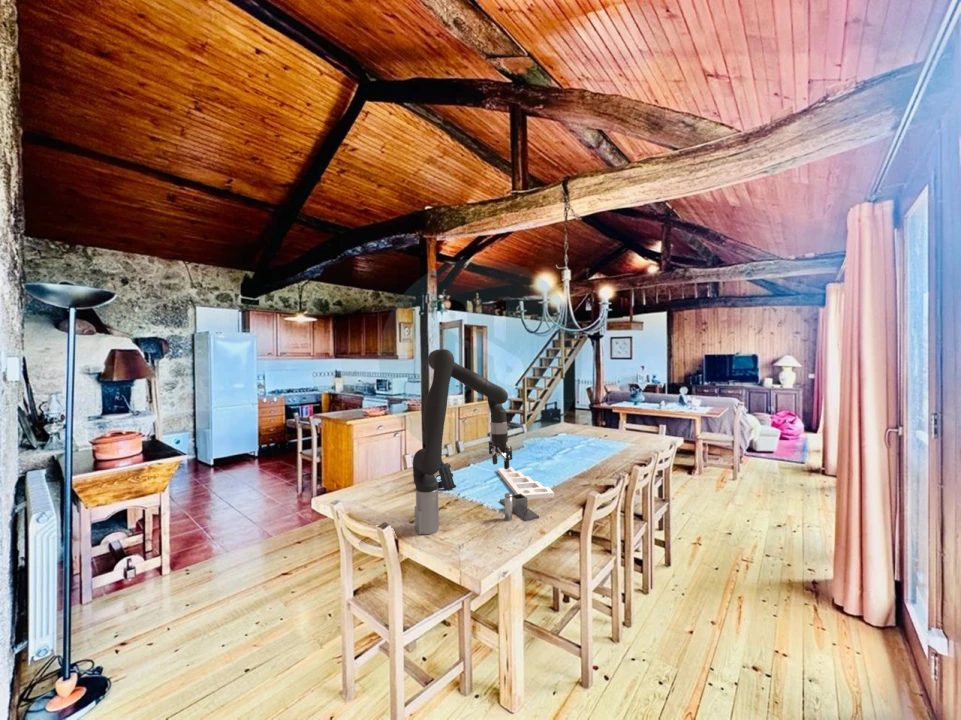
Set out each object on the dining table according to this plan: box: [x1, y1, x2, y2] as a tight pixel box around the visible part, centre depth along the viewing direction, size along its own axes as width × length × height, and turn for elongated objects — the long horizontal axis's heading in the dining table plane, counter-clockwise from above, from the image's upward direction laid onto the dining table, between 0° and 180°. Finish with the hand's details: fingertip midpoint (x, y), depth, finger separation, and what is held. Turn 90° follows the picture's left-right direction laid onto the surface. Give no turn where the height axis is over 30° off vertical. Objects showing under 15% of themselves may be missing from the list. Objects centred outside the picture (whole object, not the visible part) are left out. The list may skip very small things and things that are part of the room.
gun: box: [435, 459, 457, 492], centre depth 213 cm, size 3×17×15 cm
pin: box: [504, 492, 513, 522], centre depth 178 cm, size 3×3×11 cm
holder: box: [497, 466, 555, 501], centre depth 223 cm, size 45×18×3 cm, turn 12°
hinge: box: [499, 494, 540, 522], centre depth 188 cm, size 7×24×6 cm, turn 25°
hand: (500, 466), depth 185 cm, fingers open, 8 cm apart
